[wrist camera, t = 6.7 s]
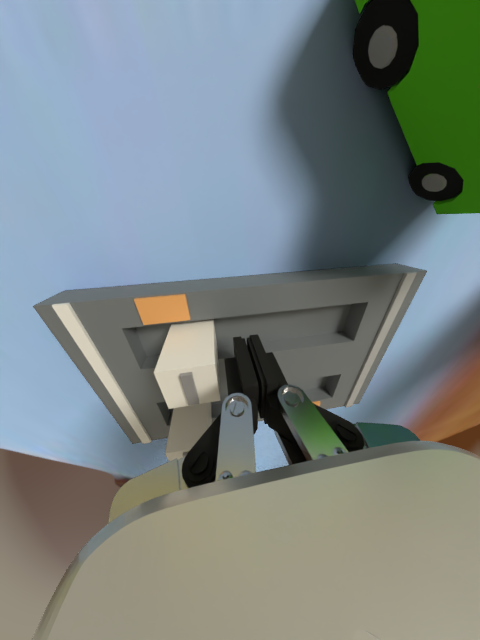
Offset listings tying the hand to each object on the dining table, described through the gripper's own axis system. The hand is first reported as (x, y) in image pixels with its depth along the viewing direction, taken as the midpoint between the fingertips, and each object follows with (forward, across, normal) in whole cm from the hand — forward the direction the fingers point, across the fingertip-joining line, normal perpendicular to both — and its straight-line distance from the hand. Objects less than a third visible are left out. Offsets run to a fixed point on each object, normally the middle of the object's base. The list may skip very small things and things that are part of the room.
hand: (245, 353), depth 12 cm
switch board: (+4, -1, +4) cm, 6 cm away
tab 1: (+3, +4, 0) cm, 5 cm away
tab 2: (+3, +5, +8) cm, 10 cm away
